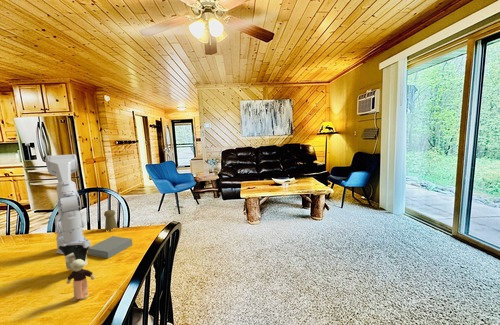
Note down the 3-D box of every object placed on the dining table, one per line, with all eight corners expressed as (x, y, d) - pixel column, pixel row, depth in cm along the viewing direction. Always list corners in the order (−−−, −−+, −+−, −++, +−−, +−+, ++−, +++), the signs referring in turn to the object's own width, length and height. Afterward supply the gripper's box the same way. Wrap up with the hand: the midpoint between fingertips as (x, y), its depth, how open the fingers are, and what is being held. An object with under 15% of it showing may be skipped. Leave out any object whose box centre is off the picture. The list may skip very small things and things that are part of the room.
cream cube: (66, 269, 79) (64, 256, 78) (79, 262, 83) (77, 250, 82) (74, 271, 77) (73, 258, 77) (87, 264, 82) (86, 251, 81)
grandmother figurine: (64, 305, 64) (59, 266, 62) (69, 297, 67) (64, 259, 66) (95, 297, 67) (91, 259, 65) (98, 289, 70) (94, 253, 69)
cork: (111, 232, 115) (109, 212, 114) (102, 231, 117) (100, 212, 115) (120, 227, 121) (118, 208, 120) (111, 226, 123) (109, 208, 121)
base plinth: (88, 254, 93) (87, 248, 92) (113, 241, 104) (112, 235, 104) (108, 258, 89) (107, 251, 89) (132, 244, 100) (131, 238, 100)
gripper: (46, 230, 77) (51, 265, 79) (74, 235, 72) (78, 272, 74) (68, 222, 84) (72, 255, 85) (94, 226, 79) (98, 260, 81)
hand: (76, 262), depth 80 cm, fingers closed on cream cube, 4 cm apart
